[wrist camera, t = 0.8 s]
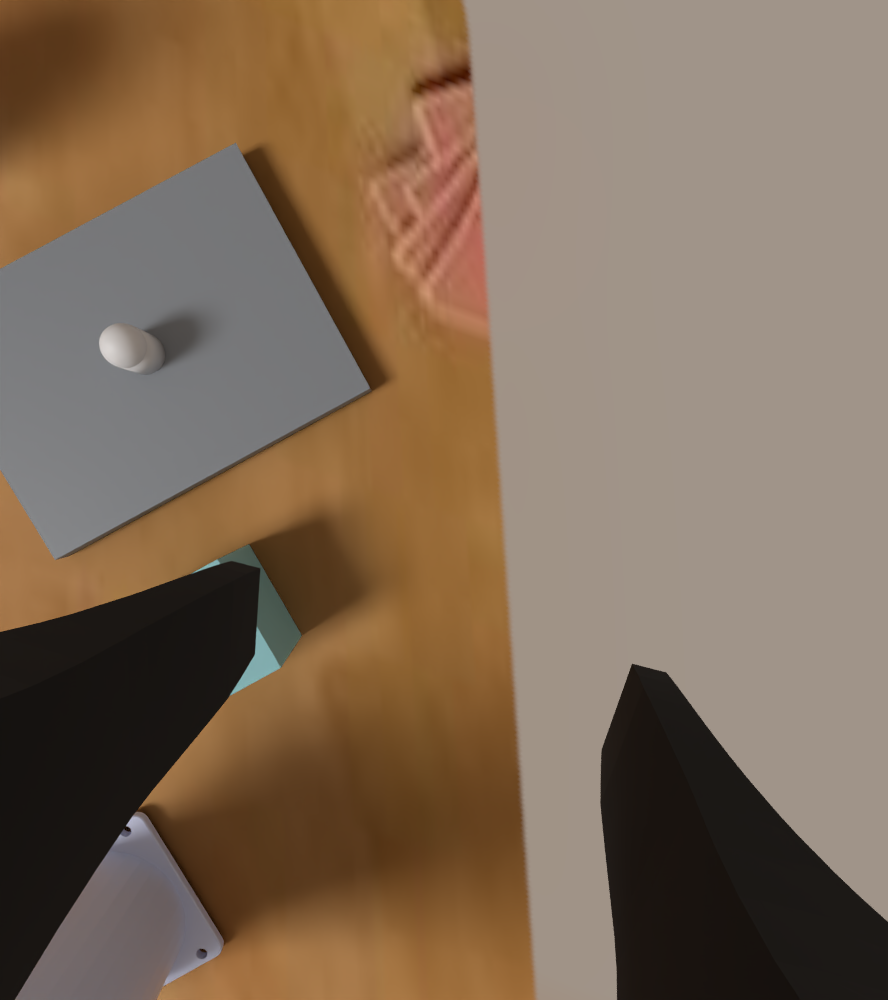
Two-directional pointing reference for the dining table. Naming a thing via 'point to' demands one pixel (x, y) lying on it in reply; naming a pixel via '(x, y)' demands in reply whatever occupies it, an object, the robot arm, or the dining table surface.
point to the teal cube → (265, 623)
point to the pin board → (211, 362)
